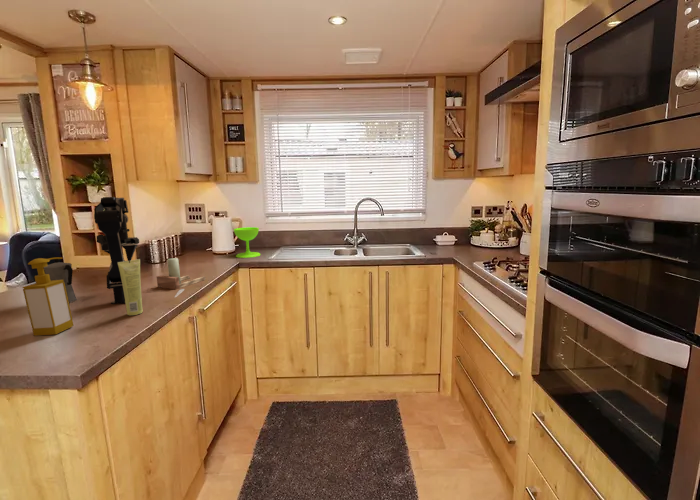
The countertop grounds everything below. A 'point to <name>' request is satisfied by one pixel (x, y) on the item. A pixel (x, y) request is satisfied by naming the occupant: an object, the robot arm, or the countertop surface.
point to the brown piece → (175, 281)
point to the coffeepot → (62, 276)
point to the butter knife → (179, 292)
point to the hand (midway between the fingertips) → (123, 263)
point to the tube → (131, 286)
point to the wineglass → (247, 240)
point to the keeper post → (173, 268)
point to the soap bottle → (47, 302)
